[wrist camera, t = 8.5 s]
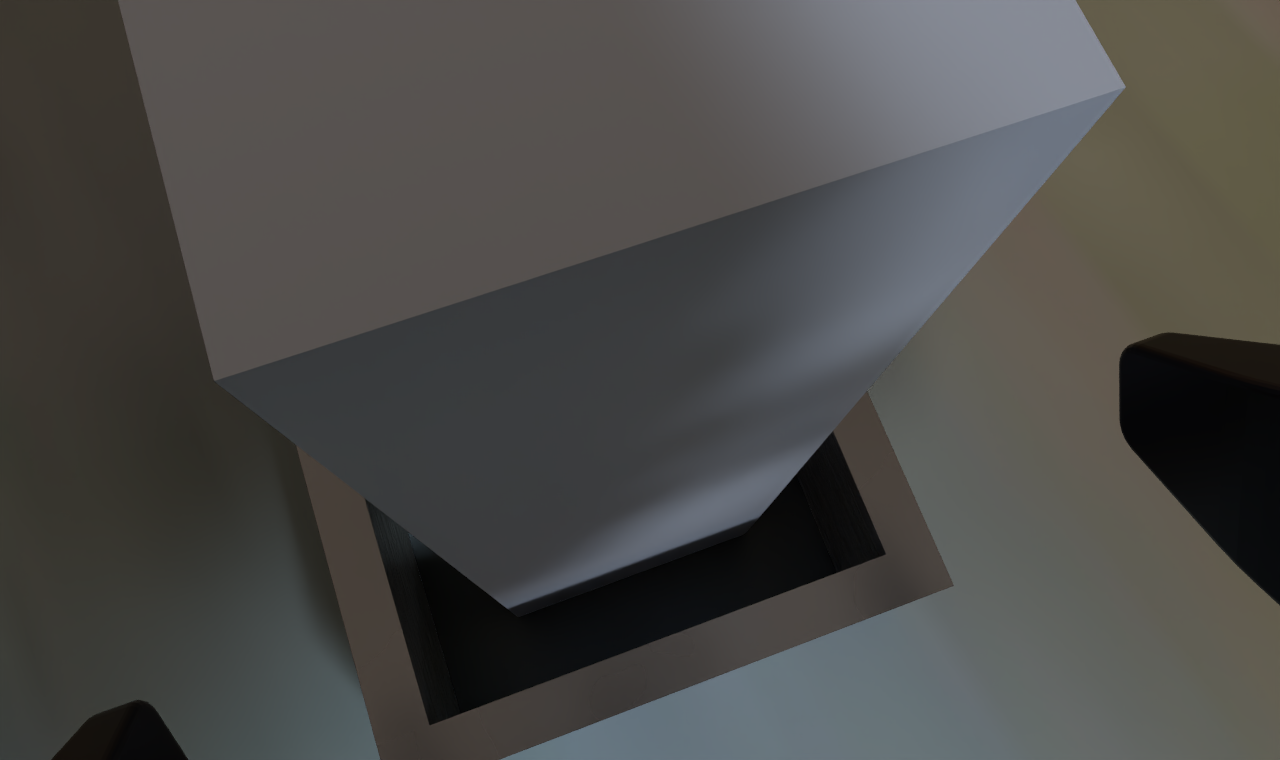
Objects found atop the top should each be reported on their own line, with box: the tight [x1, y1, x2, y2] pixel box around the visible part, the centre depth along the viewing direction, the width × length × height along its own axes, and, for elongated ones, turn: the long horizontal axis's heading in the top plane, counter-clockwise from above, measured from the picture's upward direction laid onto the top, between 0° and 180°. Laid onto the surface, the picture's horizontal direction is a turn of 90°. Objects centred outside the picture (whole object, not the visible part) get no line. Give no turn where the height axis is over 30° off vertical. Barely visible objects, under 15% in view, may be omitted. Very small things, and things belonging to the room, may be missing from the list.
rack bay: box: [296, 391, 954, 760], centre depth 15 cm, size 9×8×4 cm
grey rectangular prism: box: [118, 0, 1125, 617], centre depth 11 cm, size 5×4×13 cm
